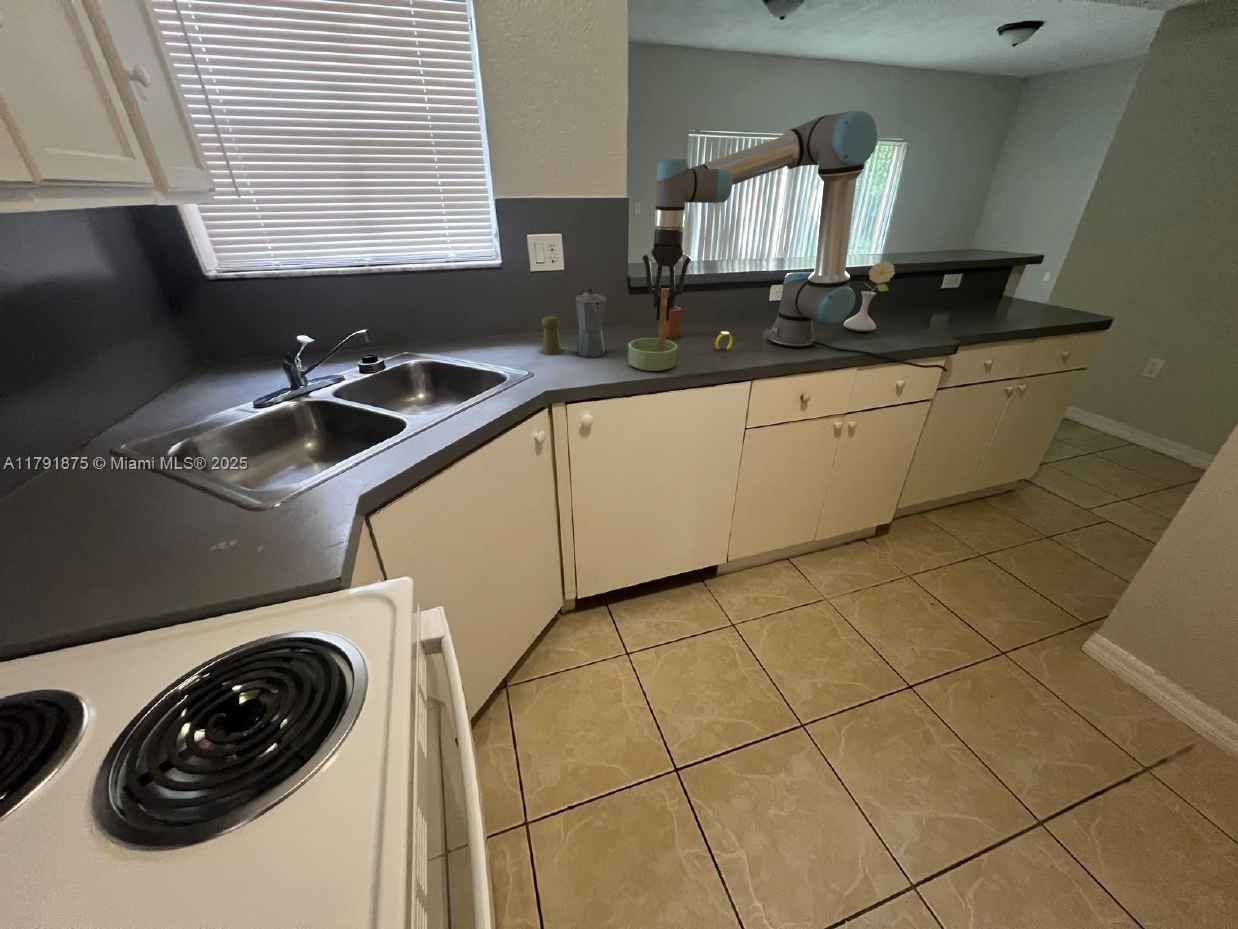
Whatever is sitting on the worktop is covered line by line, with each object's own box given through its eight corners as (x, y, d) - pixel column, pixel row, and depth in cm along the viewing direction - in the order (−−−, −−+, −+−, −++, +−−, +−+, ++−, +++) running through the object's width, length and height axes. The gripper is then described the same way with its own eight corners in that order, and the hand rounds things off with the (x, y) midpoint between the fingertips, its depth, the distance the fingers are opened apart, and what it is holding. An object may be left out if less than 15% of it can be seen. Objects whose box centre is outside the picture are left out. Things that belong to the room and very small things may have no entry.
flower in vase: (836, 328, 187) (853, 258, 174) (852, 324, 193) (870, 256, 180) (868, 336, 178) (889, 264, 165) (884, 332, 184) (906, 261, 171)
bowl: (678, 358, 152) (679, 339, 149) (673, 374, 140) (674, 354, 137) (632, 355, 154) (632, 336, 151) (623, 370, 142) (624, 350, 139)
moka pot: (585, 362, 148) (584, 293, 137) (566, 347, 159) (564, 284, 149) (613, 357, 152) (614, 291, 141) (593, 344, 163) (592, 281, 153)
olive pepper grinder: (564, 349, 157) (563, 315, 152) (556, 355, 152) (554, 320, 147) (547, 347, 159) (545, 313, 153) (539, 353, 154) (536, 318, 148)
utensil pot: (679, 334, 175) (681, 306, 170) (677, 340, 170) (680, 310, 164) (661, 333, 176) (663, 305, 171) (659, 338, 171) (661, 309, 166)
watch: (728, 348, 163) (730, 330, 160) (733, 350, 161) (735, 332, 157) (713, 350, 160) (715, 332, 157) (717, 352, 158) (720, 334, 155)
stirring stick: (664, 357, 146) (668, 288, 135) (663, 359, 144) (668, 289, 134) (657, 357, 146) (661, 287, 136) (656, 359, 144) (661, 289, 134)
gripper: (698, 227, 129) (690, 317, 141) (642, 226, 131) (639, 314, 143) (696, 230, 122) (688, 324, 135) (638, 228, 125) (635, 320, 137)
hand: (663, 319), depth 139 cm, fingers closed on stirring stick, 2 cm apart
